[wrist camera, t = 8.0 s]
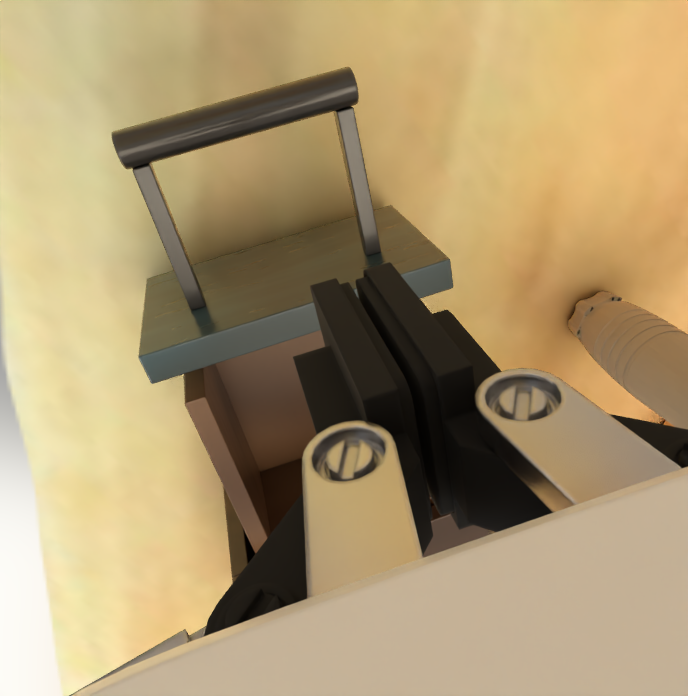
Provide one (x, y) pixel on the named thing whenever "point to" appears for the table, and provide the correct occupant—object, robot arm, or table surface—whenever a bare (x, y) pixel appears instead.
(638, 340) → the handle
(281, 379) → the drawer
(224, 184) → the table surface
